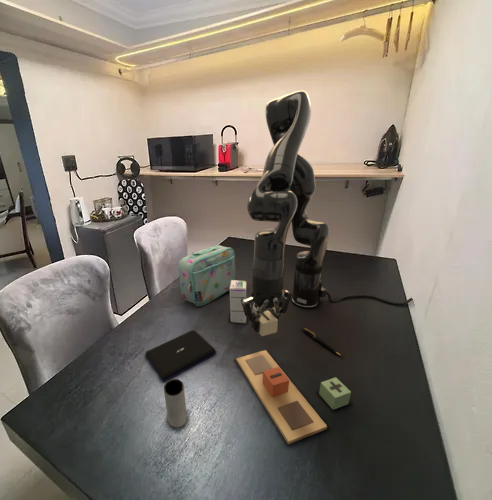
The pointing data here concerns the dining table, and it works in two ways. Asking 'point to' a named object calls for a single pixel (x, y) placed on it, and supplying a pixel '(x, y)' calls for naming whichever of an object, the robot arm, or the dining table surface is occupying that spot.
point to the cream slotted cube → (268, 324)
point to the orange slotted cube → (275, 381)
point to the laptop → (179, 354)
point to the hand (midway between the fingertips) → (264, 328)
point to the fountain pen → (319, 340)
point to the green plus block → (334, 393)
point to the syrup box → (237, 301)
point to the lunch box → (207, 274)
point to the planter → (175, 403)
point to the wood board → (281, 400)
